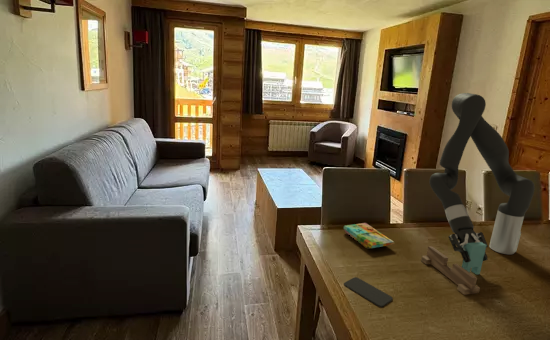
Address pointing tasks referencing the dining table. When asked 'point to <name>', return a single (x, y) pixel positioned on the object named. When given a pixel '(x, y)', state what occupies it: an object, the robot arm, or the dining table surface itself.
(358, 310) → the dining table surface
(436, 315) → the dining table surface
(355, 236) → the puzzle game
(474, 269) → the slotted tab
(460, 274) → the slotted rail
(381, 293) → the phone
